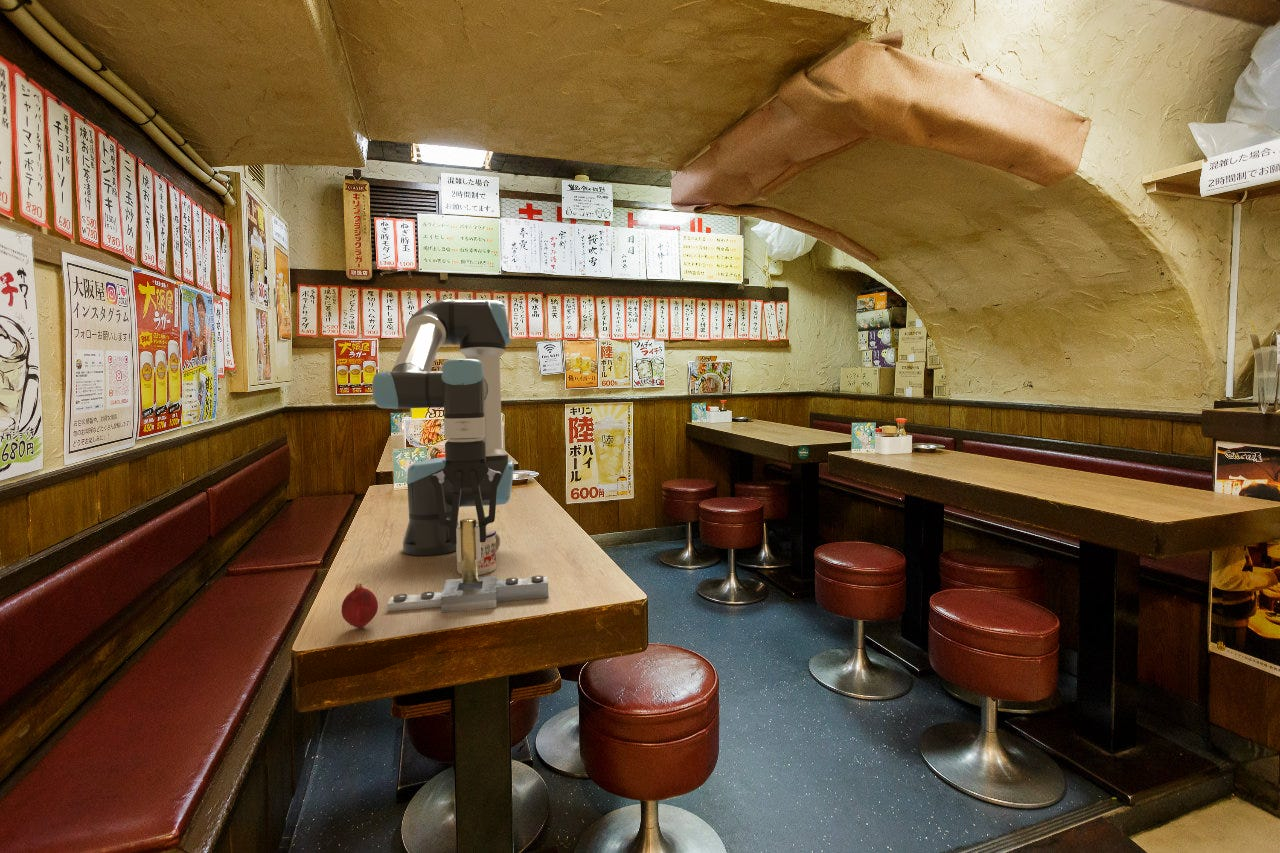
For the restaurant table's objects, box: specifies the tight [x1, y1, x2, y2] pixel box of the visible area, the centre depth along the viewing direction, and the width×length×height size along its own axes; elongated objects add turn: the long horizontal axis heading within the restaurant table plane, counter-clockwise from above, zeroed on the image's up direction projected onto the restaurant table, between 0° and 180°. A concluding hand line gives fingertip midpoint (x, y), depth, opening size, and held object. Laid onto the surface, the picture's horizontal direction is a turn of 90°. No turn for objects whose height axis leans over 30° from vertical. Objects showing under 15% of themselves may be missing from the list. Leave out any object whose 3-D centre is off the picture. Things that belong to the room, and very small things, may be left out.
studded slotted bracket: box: [386, 575, 549, 613], centre depth 117 cm, size 10×30×4 cm, turn 102°
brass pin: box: [459, 518, 479, 583], centre depth 116 cm, size 3×3×12 cm
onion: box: [341, 582, 379, 629], centre depth 104 cm, size 6×6×8 cm
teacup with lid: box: [456, 518, 501, 576], centre depth 137 cm, size 12×9×12 cm
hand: (469, 559), depth 116 cm, fingers closed on brass pin, 3 cm apart
